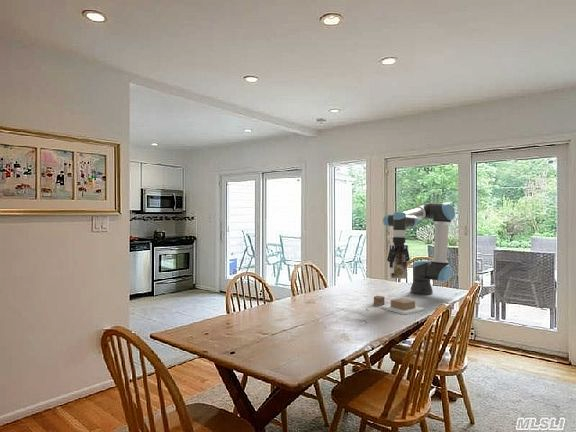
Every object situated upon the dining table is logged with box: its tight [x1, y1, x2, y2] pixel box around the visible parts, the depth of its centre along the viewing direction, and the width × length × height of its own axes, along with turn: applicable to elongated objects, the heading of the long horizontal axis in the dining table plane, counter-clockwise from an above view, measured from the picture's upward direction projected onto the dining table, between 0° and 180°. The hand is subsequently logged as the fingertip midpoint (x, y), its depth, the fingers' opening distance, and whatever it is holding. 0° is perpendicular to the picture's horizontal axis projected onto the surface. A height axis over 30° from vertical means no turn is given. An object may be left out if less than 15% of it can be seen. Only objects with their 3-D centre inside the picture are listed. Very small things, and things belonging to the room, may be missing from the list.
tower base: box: [380, 297, 426, 316], centre depth 236 cm, size 18×18×5 cm
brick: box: [373, 295, 385, 307], centre depth 248 cm, size 5×5×5 cm
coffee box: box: [389, 252, 408, 280], centre depth 245 cm, size 9×6×16 cm
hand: (398, 272), depth 245 cm, fingers closed on coffee box, 10 cm apart
